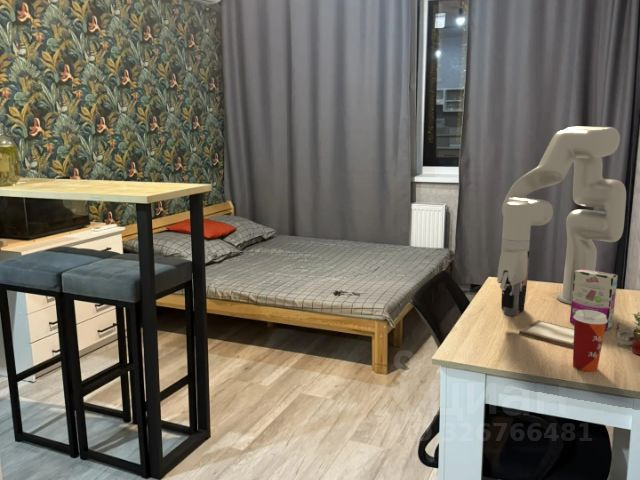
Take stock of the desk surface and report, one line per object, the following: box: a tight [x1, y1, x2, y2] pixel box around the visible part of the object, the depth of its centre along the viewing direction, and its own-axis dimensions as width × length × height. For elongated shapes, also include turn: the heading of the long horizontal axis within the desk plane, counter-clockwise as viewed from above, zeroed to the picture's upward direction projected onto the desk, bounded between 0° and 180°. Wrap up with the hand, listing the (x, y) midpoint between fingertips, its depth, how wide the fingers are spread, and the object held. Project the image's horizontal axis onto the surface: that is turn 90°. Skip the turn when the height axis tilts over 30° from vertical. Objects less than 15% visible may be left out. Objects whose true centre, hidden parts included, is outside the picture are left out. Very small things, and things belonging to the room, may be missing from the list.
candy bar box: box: [569, 269, 619, 331], centre depth 174 cm, size 11×5×16 cm, turn 47°
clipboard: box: [518, 319, 574, 349], centre depth 166 cm, size 13×16×2 cm
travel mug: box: [500, 249, 531, 313], centre depth 189 cm, size 8×8×20 cm
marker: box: [503, 282, 520, 318], centre depth 169 cm, size 4×4×13 cm
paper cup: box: [572, 310, 608, 373], centre depth 144 cm, size 8×8×14 cm
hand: (511, 304), depth 170 cm, fingers closed on marker, 3 cm apart
